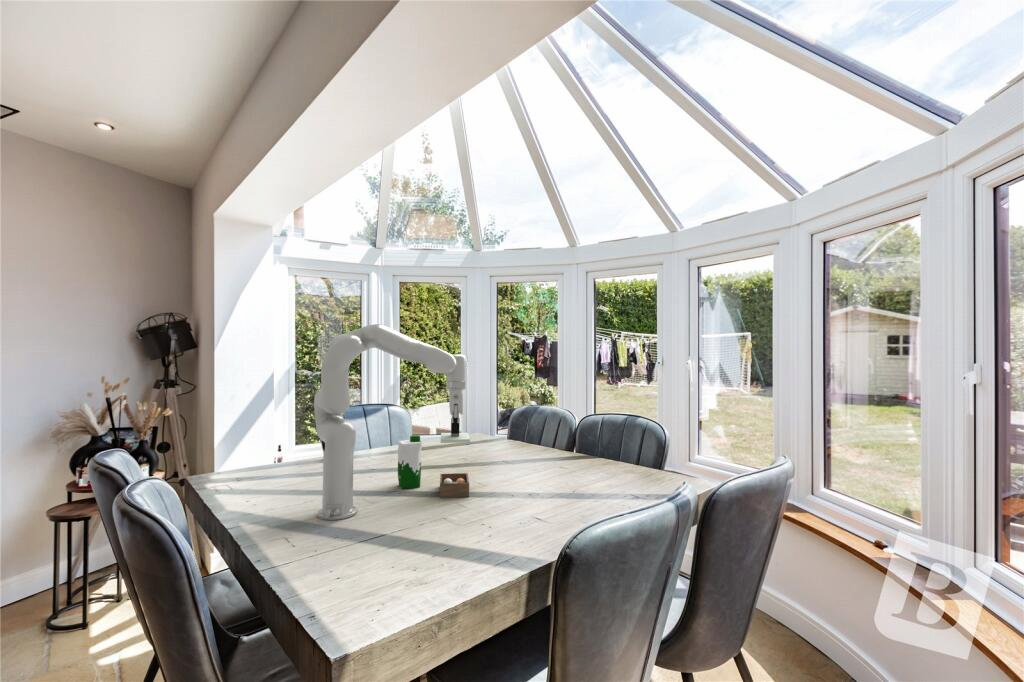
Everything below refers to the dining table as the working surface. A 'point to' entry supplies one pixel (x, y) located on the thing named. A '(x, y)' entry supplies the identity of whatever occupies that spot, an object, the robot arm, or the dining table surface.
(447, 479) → the ball cream
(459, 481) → the ball terracotta
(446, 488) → the box
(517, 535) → the dining table surface
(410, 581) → the dining table surface
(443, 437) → the lid
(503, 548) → the dining table surface
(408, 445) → the milk carton
